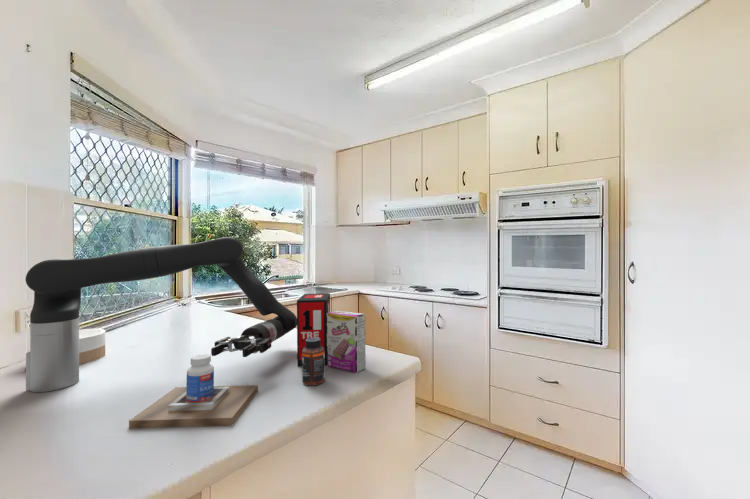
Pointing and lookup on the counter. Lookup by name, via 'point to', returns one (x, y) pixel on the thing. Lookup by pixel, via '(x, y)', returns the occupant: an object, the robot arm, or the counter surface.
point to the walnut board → (196, 408)
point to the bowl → (91, 345)
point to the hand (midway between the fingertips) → (228, 352)
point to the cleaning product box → (312, 321)
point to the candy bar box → (346, 341)
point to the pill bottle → (200, 379)
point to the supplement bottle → (313, 362)
